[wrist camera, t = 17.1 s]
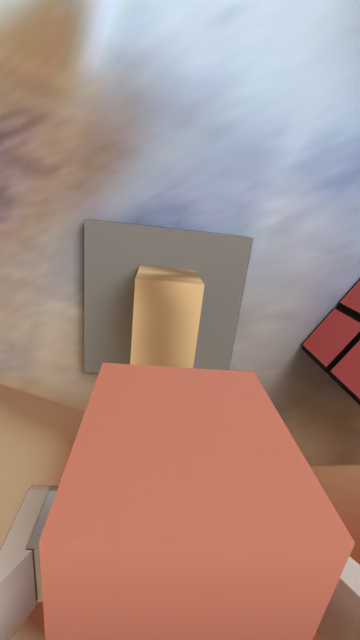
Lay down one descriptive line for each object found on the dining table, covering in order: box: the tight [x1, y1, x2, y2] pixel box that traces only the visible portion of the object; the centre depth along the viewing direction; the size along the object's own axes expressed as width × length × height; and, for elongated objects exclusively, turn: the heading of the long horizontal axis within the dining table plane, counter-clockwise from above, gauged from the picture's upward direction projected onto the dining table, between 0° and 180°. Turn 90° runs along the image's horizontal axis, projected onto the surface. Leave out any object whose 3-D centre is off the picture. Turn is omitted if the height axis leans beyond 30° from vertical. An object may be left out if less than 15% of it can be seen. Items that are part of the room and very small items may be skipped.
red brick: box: [39, 363, 355, 640], centre depth 8 cm, size 4×7×5 cm, turn 174°
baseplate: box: [84, 219, 253, 373], centre depth 26 cm, size 13×13×1 cm
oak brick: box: [130, 265, 205, 368], centre depth 23 cm, size 4×7×5 cm, turn 174°
